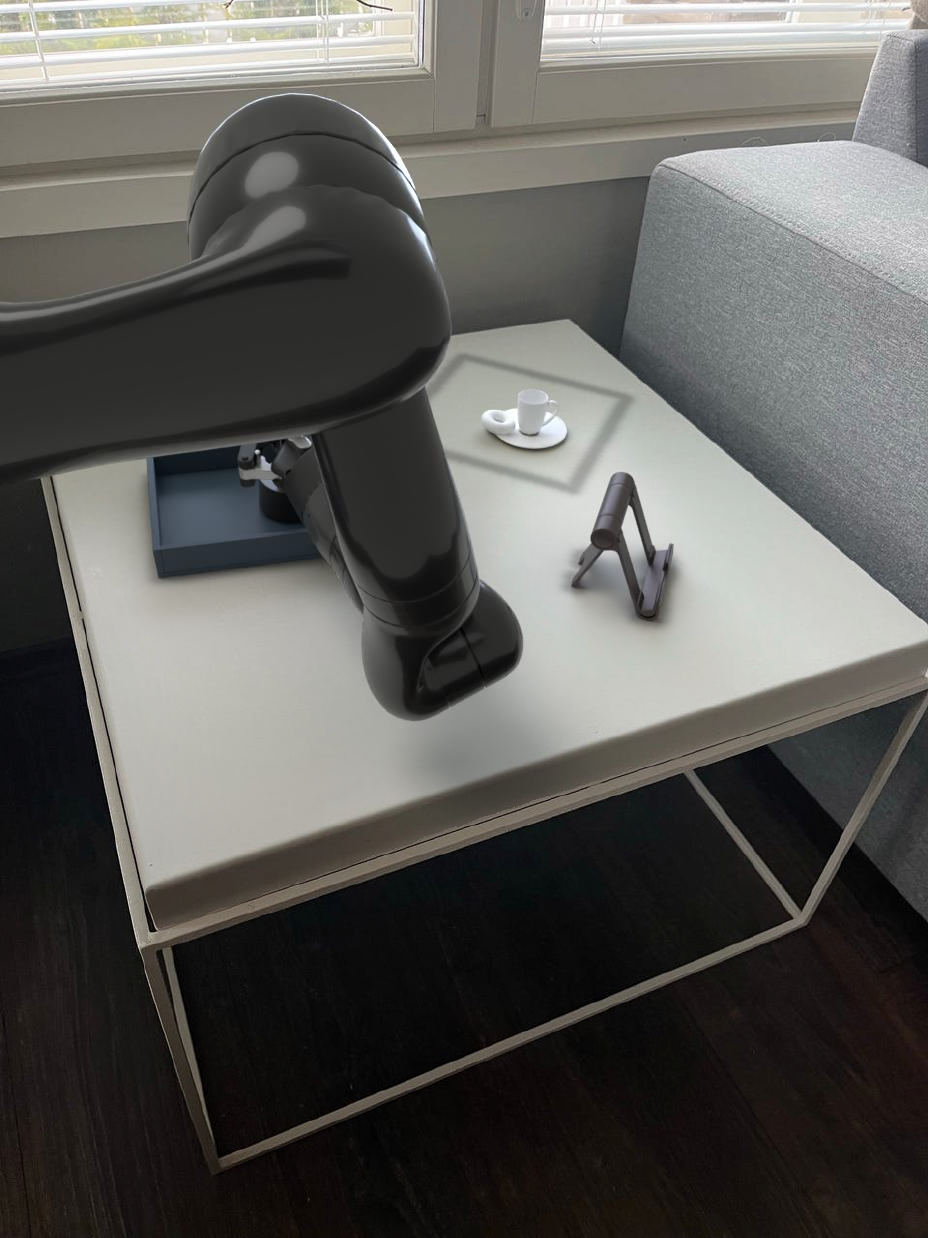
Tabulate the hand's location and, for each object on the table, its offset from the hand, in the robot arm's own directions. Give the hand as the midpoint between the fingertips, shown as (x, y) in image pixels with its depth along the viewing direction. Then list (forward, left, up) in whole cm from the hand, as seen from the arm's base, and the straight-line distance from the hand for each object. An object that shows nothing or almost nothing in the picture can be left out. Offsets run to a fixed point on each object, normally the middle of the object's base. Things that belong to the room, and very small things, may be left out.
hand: (281, 400), depth 86 cm
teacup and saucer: (+25, +9, -10) cm, 29 cm away
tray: (-3, -3, -10) cm, 11 cm away
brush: (0, -3, -9) cm, 9 cm away
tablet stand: (+26, -19, -10) cm, 34 cm away
